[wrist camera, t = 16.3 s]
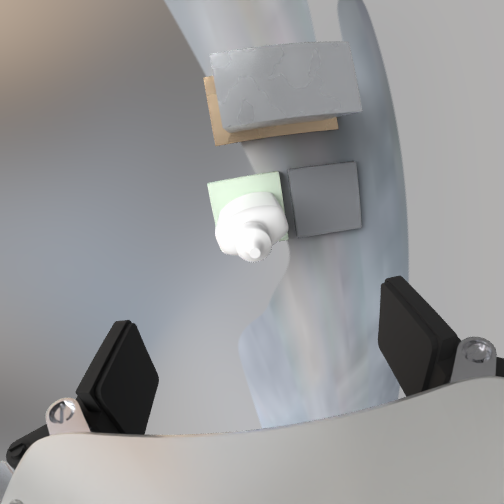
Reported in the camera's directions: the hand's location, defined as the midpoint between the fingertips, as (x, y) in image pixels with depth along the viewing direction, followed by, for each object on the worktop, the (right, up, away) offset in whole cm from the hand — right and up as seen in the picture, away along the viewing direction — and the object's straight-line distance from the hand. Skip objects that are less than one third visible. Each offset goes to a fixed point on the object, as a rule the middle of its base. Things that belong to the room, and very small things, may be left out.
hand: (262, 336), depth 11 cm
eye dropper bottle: (-1, +7, +20) cm, 21 cm away
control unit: (+1, +18, +17) cm, 24 cm away
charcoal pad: (+7, +9, +20) cm, 23 cm away
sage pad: (-1, +7, +20) cm, 22 cm away
